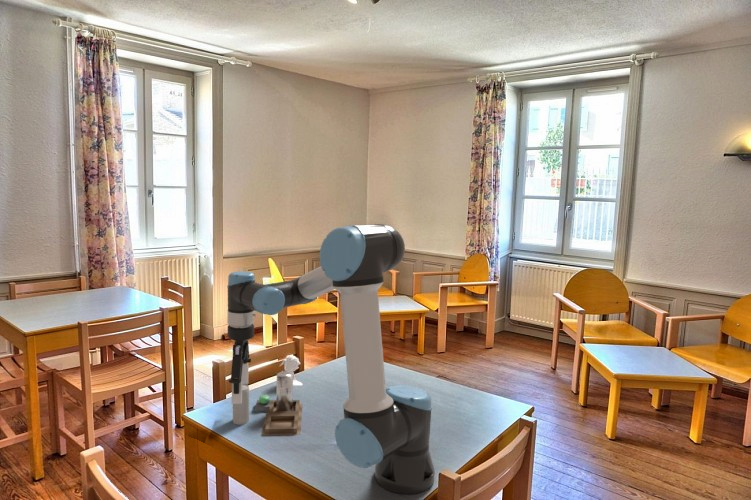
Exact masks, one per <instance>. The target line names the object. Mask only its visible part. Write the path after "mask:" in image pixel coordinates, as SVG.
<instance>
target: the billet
mask: <svg viewBox="0 0 751 500" xmlns="http://www.w3.org/2000/svg"><path fill="white" fill-rule="evenodd" d="M293 380H294V379H293V373H291V372H287V371H285V370H283V372H282V371H280V372H277V373H276V400H277V403H276V412H277V411H293V400H294V398H293V397H294V396H293V395H294V394H293V393H294V385H293Z"/></svg>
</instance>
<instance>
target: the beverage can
mask: <svg viewBox="0 0 751 500" xmlns="http://www.w3.org/2000/svg"><path fill="white" fill-rule="evenodd" d="M249 422H250V387H249V385H248V384H242V403H241V404H232V423H233V424H235V425H245V424H247V423H249Z"/></svg>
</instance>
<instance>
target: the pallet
mask: <svg viewBox="0 0 751 500" xmlns="http://www.w3.org/2000/svg"><path fill="white" fill-rule="evenodd" d="M276 403H277V399H275V400H274V399H270V401H269V403H267V404H261V403H259V399H257V400H256V403H255V408H254V409H255V411H254V412H266V413H265V417H264V421H263V426H262V431H261V436H283V435H285V436H287V435H288V436H289V435H291V436H293V435H301V433H302V418H303V417H302V415H303V403H300V399H293V411H277V412H276Z"/></svg>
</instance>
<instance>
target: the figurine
mask: <svg viewBox="0 0 751 500" xmlns="http://www.w3.org/2000/svg"><path fill="white" fill-rule="evenodd" d="M282 365H283V366H284V370H281V372H284V371H287V372H291V373H293V386H303V383H302V382H301V381H299V380H297V379H296V375H295V373H294V372H295V371H296V370H298V369H299V368H300V367H299V366H300V365H301V362H300V359H299V357H296V356H295V355H287V356H286V357H285V358H283V360H282V362H281V364H280V365H279V367H281V366H282Z"/></svg>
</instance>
